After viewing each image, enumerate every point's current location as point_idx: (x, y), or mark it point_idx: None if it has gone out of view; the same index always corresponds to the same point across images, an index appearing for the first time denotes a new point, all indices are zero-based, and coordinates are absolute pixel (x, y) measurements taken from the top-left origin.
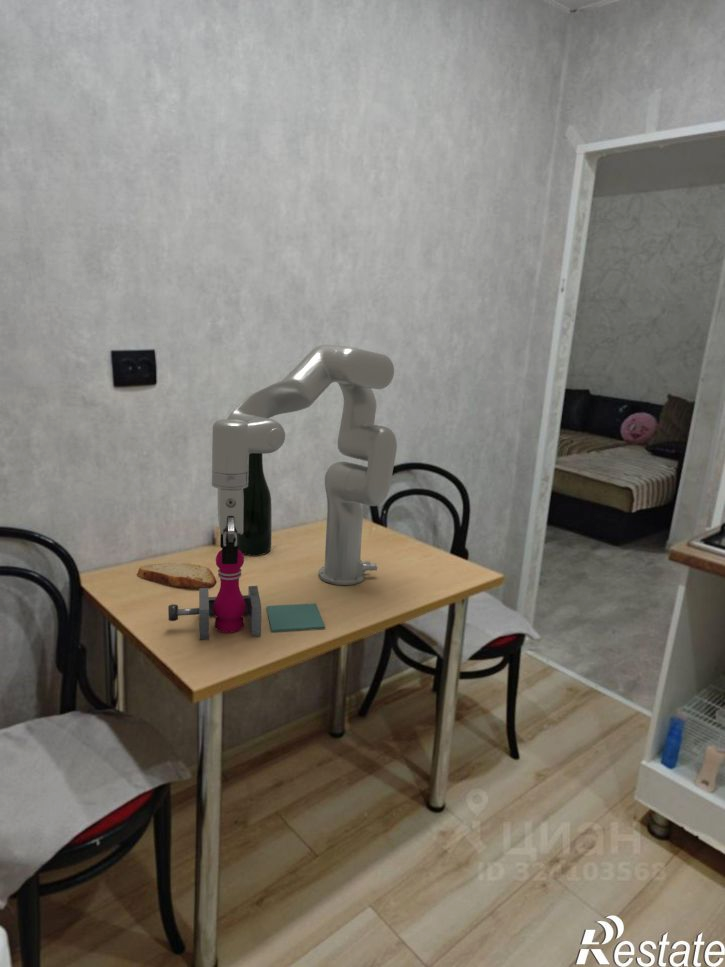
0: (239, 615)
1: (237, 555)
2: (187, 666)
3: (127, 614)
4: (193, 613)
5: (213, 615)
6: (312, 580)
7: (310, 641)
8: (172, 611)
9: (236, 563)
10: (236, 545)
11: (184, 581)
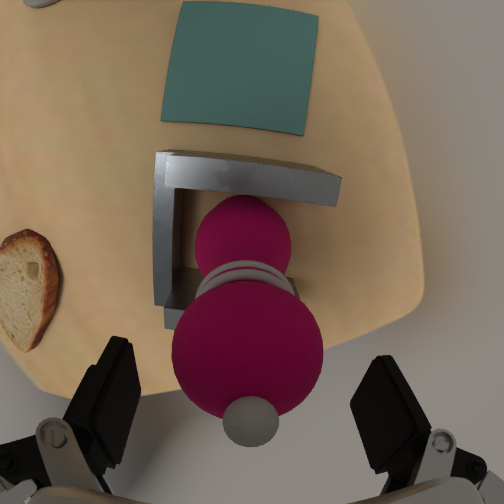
0: (285, 224)
1: (407, 384)
2: (368, 316)
3: (160, 382)
4: None
5: (180, 256)
6: (56, 15)
7: (365, 70)
8: None
9: (387, 356)
10: (450, 436)
11: (50, 301)
